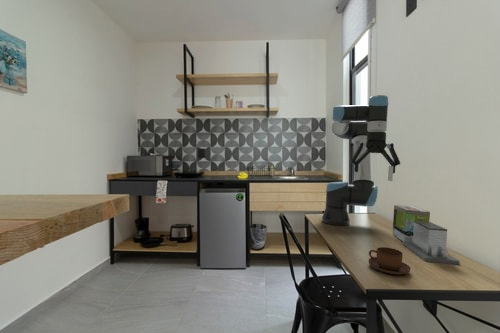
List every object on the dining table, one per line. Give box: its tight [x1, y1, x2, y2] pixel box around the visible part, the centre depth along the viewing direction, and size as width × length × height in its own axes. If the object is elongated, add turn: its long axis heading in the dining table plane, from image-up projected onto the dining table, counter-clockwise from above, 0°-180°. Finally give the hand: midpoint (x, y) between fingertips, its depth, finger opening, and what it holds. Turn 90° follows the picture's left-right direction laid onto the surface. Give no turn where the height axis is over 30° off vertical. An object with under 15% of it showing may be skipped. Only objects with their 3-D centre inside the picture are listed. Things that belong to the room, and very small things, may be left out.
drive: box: [413, 221, 448, 256], centre depth 100 cm, size 12×6×10 cm, turn 171°
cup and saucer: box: [368, 246, 411, 276], centre depth 84 cm, size 12×12×6 cm
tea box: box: [392, 204, 431, 243], centre depth 119 cm, size 15×10×15 cm
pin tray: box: [402, 236, 460, 265], centre depth 100 cm, size 19×11×4 cm, turn 171°
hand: (373, 180), depth 114 cm, fingers open, 13 cm apart
